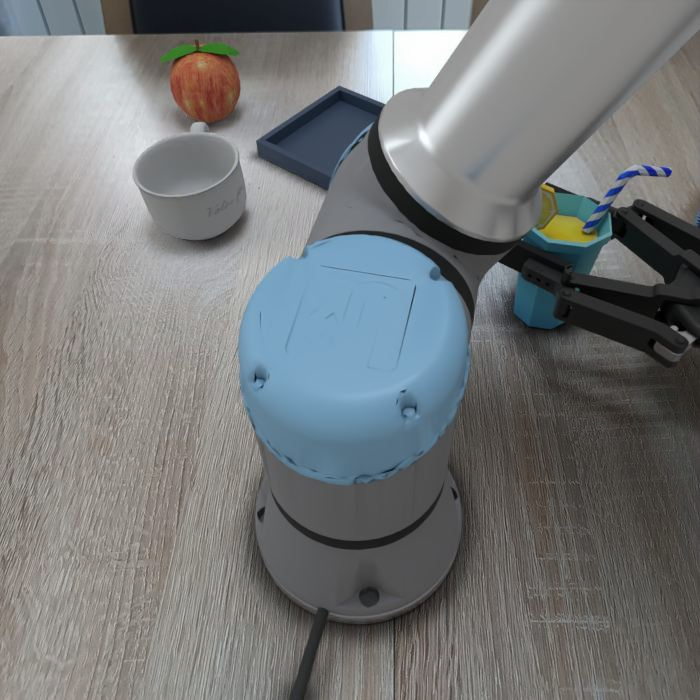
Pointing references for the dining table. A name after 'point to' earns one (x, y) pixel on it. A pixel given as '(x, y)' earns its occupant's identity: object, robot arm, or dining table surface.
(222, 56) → the fruit
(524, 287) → the cup
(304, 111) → the tray
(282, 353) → the robot arm
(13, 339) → the dining table surface
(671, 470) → the dining table surface
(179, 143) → the teacup
